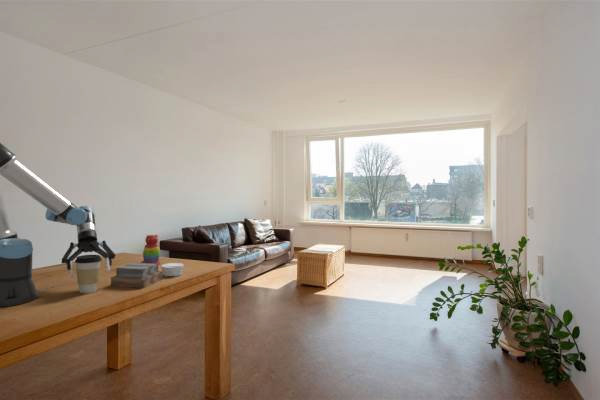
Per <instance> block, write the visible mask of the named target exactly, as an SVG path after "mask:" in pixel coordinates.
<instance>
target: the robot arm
mask: <svg viewBox="0 0 600 400" xmlns="http://www.w3.org/2000/svg"><path fill="white" fill-rule="evenodd" d="M0 175H1V177H3V178H4V179H6V180H7V181H9V182H10V183H11V184H12V185H14V186H16V188H18V189H20V190H21V191H22V192H24V193H25V194H26V195H28V196H30V197H31V198H32V199H33V200H35V201H36V202H37V203H39V204H41V205H42V206H43V207H44V208H46V211H45V214H44V215H45V219H46V221H51V222H56V223H61V224H65V225H71V226H76V231H77V235H76V236H77V243H74V242H72V241H71V242H70V245H69V247H68V249H67V250H66V251H65V253H64V255H63V257H62V258H61V264H66V269H67V271H70V273H69V274H70V278H74V264H73V262H74V261H75V260H76V258H77V257H78V256H80V255H81V254H82V253H93V252H94V253H96V254H97V255H100V257H102V258H103V259H105V265H106V272H107V274H109V273H110V271H111V266H112V264H113V262H112V260H114V259H115V258H116V253H115V252H114V251H113V250H112V249H111V248H110V246H109V245H107V243H106V240H102V241H100V242H99V241H98V237H97V227H96V219H95V217H96V215H95V212H94V209H93V208H92V207H91V206H89V205H85V206H84V205H81V206H79V207H78V206H76V205H75V204H74V203H73V202H71V201H70V200H69V199H67V198H66V197H65V196H64V195H62V194H61V193H60V192H58V190H56V189H55V188H54V187H52V186H51V185H49V184H48V183H47V182H46V181H45V180H43V179H42V178H41V177H39V175H37V174H35V172H33V171H32V170H30V168H28V167H26V166H25V165H24V164H23V163H21V162H20V161H19V160H17V157H16V154H15V153H14V152H12V151H11V150H10V149H8V148H7V147H6V146H5V145H4V144H3V143H1V142H0ZM76 247H77V249H76V250H75V252H74V253H73V254H71V253H72V252H73V250H74V249H75V248H76ZM33 252H34V247H33V242H32V241H31V240H29V239H26V238H21V237H20V238H19V236H18V234H17V232H16V231H15V230H12V229H11V225H10V222H9V218H8V214H7V211H6V206H5V202H4V200H3V195H2V191H1V190H0V307H3V308H4V307H10V306H17V305H22V304H25V303H26V304H27V303H29V302H31V301H32V302H33V301H35V300H36V299H37V298H38V290H37V289H36V286H35V283H34V280H33Z"/></svg>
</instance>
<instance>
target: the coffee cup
mask: <svg viewBox="0 0 600 400" xmlns="http://www.w3.org/2000/svg"><path fill="white" fill-rule="evenodd" d="M102 260H103V259H102V256H101V255H100V254H84V255H78V256H77V257H76V258H75V259H74V263H75V264H76V268H75V271H76V277H77V278H76V279H77V285H78V291H79V294H80V293H81V294H90V293H96V291H97V288H98V283H99V277H100V276H99V275H100V270H101V262H102Z"/></svg>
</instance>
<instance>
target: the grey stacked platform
mask: <svg viewBox="0 0 600 400" xmlns="http://www.w3.org/2000/svg"><path fill="white" fill-rule="evenodd" d="M115 269H116V270H115V271H116V273H115V274H116V275H114V276H111V277H110V287H121V288H134V287H136V288H137V289H144V288H147V287H149V286H151V285H153V284H156V283H157V281H158V282H159V280H160V281H161V279H162V280H163V276H164V275H163V271H162V270H159V265H158V264H153V263H140V262H131V263H128V264H125V265H122V266H119V267H115ZM155 282H156V283H155ZM136 288H135V289H136Z"/></svg>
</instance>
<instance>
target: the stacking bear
mask: <svg viewBox="0 0 600 400" xmlns="http://www.w3.org/2000/svg"><path fill="white" fill-rule="evenodd" d="M158 236H159V235H158V234H151V235H150V234H147V235H146V237H145V239H144V240H145V243H146V244H145V246H144V248H143V251H142V257H143V260H141V261H140V262H139V263H153V264H158V266H159V265H160V264H161V261H160V257H161V250H160V246H159V245H158V242H159V238H158Z"/></svg>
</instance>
